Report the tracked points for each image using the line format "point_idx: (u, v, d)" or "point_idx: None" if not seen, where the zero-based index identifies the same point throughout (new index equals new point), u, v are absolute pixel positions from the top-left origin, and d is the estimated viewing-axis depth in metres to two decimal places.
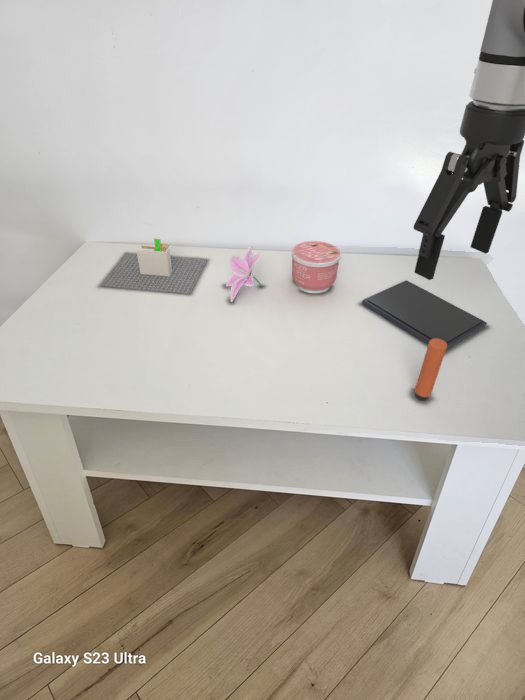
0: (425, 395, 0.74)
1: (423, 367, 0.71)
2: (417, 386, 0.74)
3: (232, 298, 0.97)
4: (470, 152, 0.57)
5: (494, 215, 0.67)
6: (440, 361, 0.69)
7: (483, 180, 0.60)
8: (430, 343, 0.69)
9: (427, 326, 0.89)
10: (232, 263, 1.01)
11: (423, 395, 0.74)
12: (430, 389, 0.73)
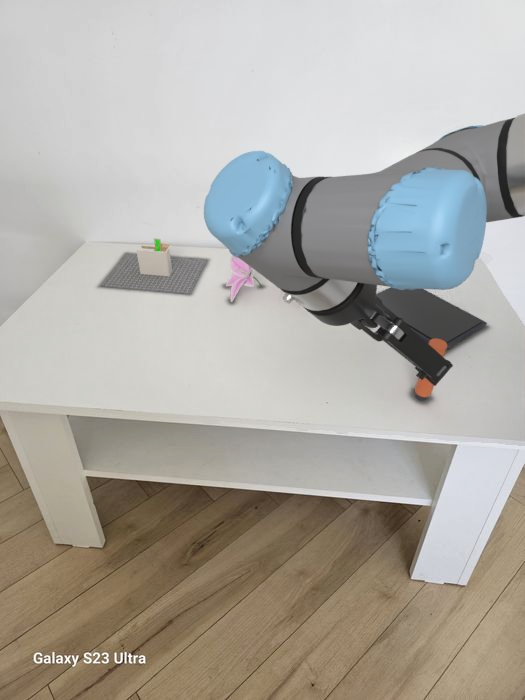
0: (425, 395, 0.74)
1: None
2: (417, 386, 0.74)
3: (232, 298, 0.97)
4: (372, 315, 0.47)
5: None
6: None
7: None
8: (430, 343, 0.69)
9: (427, 326, 0.89)
10: (232, 263, 1.01)
11: (423, 395, 0.74)
12: (430, 389, 0.73)
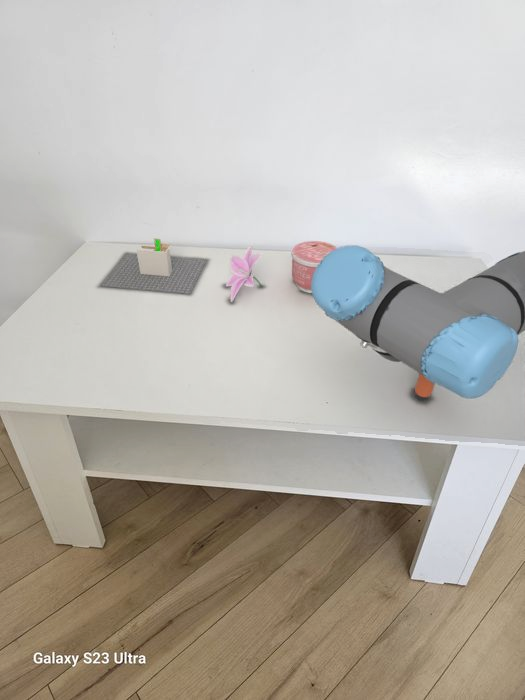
0: (425, 395, 0.74)
1: None
2: (417, 386, 0.74)
3: (232, 298, 0.97)
4: None
5: None
6: None
7: None
8: None
9: None
10: (232, 263, 1.01)
11: (423, 395, 0.74)
12: (430, 389, 0.73)
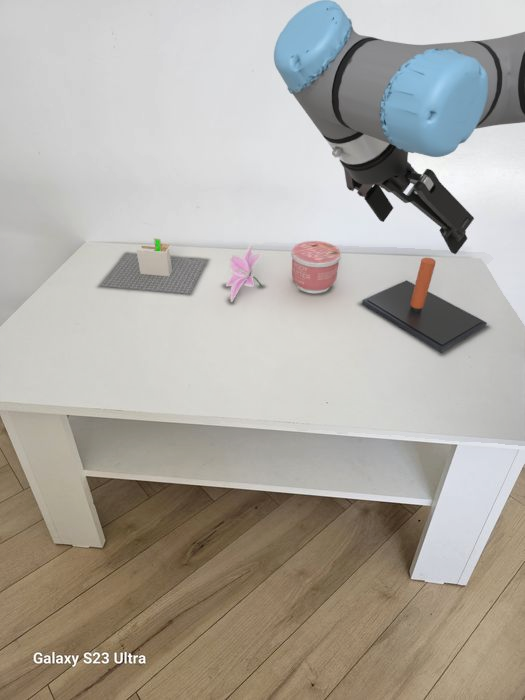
0: (418, 307, 0.91)
1: (417, 282, 0.89)
2: (412, 300, 0.92)
3: (232, 298, 0.97)
4: (405, 172, 0.55)
5: (377, 190, 0.69)
6: (430, 275, 0.87)
7: None
8: (422, 260, 0.86)
9: (427, 326, 0.89)
10: (232, 263, 1.01)
11: (417, 307, 0.91)
12: (422, 301, 0.91)
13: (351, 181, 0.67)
